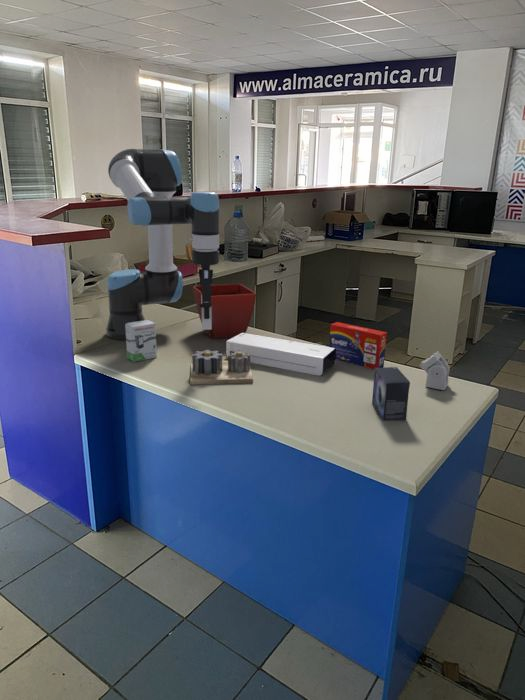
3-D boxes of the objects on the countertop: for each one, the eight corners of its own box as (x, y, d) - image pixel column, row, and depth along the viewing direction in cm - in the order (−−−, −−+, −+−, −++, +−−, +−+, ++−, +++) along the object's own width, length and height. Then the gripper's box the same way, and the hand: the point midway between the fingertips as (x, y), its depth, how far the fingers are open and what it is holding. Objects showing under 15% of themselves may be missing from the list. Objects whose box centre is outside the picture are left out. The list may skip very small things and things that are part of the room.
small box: (369, 403, 142) (373, 366, 138) (393, 402, 142) (397, 366, 139) (381, 421, 132) (385, 382, 128) (407, 420, 132) (411, 381, 129)
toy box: (383, 367, 168) (387, 332, 165) (377, 370, 165) (381, 335, 162) (334, 354, 179) (336, 321, 175) (328, 357, 176) (330, 324, 172)
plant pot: (240, 324, 212) (240, 282, 206) (256, 338, 195) (257, 293, 190) (193, 328, 205) (192, 285, 200) (206, 342, 189) (205, 296, 183)
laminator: (335, 366, 169) (336, 347, 167) (321, 378, 159) (322, 359, 157) (242, 349, 184) (242, 332, 182) (224, 359, 173) (223, 341, 171)
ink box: (133, 362, 168) (131, 326, 164) (126, 358, 172) (124, 323, 168) (157, 357, 173) (156, 322, 170) (150, 353, 177) (148, 319, 173)
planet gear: (192, 365, 163) (192, 350, 162) (221, 364, 164) (221, 349, 163) (192, 376, 155) (192, 359, 153) (223, 375, 156) (222, 359, 154)
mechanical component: (444, 391, 150) (448, 358, 147) (416, 385, 154) (420, 353, 151) (447, 385, 155) (452, 353, 151) (421, 380, 158) (424, 348, 155)
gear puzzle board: (191, 365, 167) (190, 344, 165) (248, 363, 169) (248, 343, 167) (190, 384, 152) (190, 362, 150) (252, 382, 154) (253, 361, 152)
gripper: (192, 242, 159) (193, 310, 166) (191, 257, 136) (193, 335, 143) (217, 242, 160) (217, 310, 167) (220, 257, 137) (220, 335, 144)
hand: (206, 322), depth 155 cm, fingers open, 13 cm apart
